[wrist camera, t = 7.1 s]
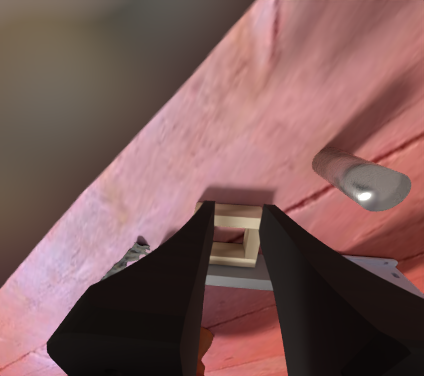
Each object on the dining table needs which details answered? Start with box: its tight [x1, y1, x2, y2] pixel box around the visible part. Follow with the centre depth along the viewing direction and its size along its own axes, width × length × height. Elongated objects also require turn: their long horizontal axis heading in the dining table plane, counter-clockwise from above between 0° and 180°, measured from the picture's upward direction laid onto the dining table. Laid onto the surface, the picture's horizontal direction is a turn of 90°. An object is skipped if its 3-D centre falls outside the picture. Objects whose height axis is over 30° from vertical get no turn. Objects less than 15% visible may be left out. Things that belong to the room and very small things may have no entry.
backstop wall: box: [205, 254, 273, 291], centre depth 23 cm, size 20×2×4 cm, turn 88°
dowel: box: [312, 148, 411, 211], centre depth 14 cm, size 3×3×7 cm
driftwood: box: [101, 243, 150, 280], centre depth 29 cm, size 21×7×2 cm, turn 138°
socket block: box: [194, 202, 262, 268], centre depth 21 cm, size 8×8×2 cm
